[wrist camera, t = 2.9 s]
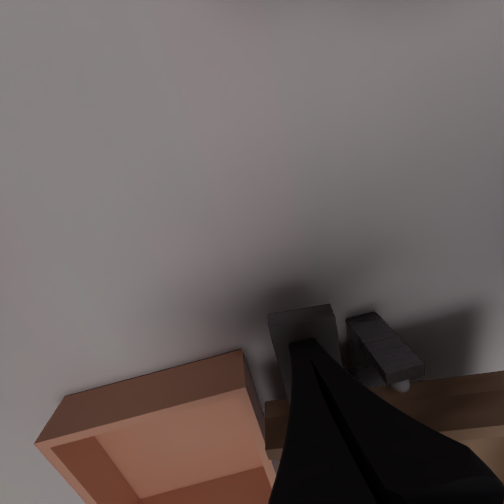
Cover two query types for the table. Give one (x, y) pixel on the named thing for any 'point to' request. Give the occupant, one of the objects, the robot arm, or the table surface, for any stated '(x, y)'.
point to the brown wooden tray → (396, 392)
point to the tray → (165, 438)
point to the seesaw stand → (380, 353)
